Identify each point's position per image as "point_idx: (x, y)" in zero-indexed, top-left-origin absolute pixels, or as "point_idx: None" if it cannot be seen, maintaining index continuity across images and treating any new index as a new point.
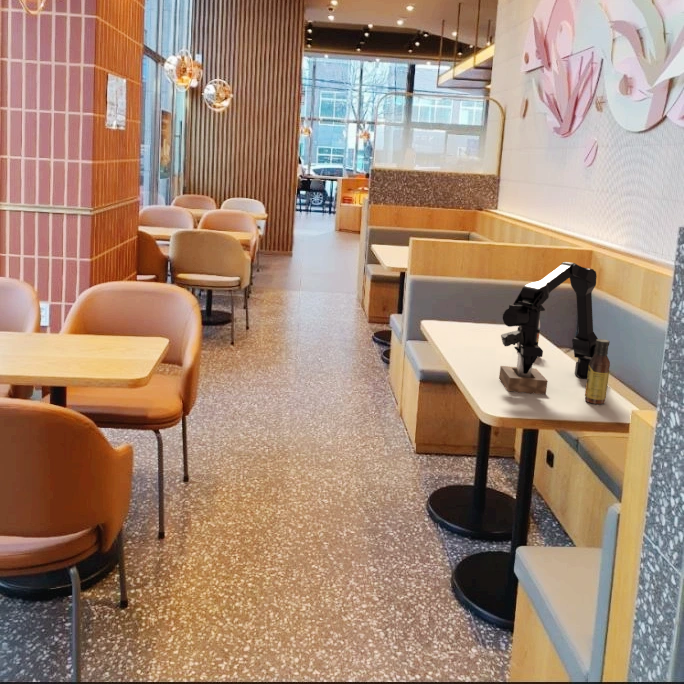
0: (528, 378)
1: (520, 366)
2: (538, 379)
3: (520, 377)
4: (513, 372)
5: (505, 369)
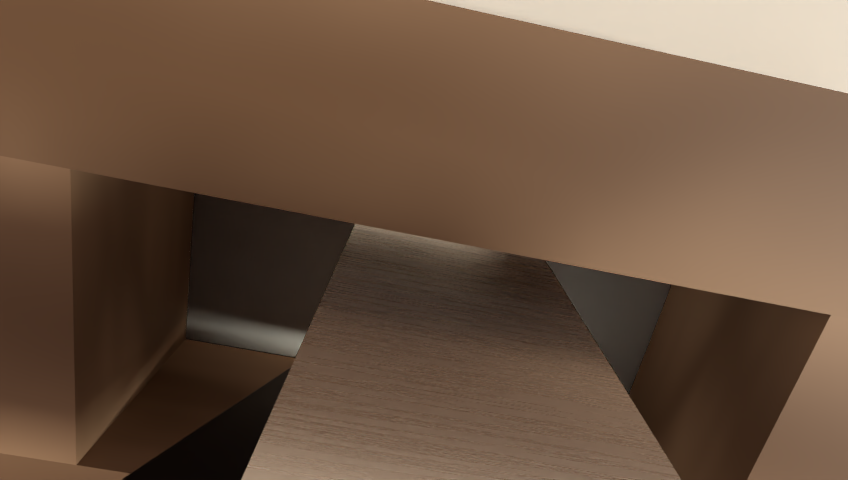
0: (6, 327)
1: (290, 376)
2: (2, 475)
3: (34, 190)
4: (459, 208)
5: (722, 123)
